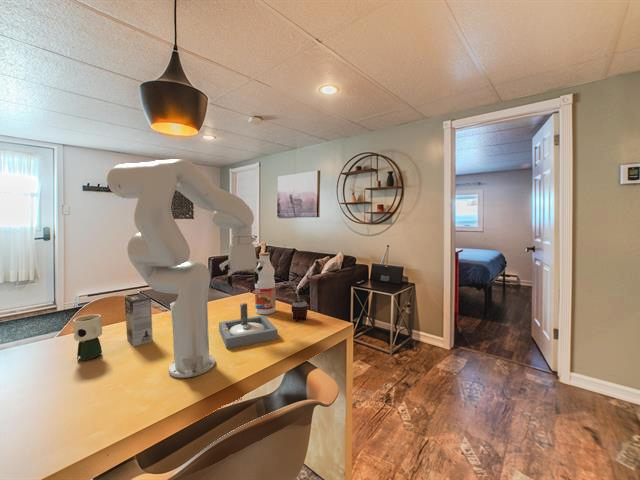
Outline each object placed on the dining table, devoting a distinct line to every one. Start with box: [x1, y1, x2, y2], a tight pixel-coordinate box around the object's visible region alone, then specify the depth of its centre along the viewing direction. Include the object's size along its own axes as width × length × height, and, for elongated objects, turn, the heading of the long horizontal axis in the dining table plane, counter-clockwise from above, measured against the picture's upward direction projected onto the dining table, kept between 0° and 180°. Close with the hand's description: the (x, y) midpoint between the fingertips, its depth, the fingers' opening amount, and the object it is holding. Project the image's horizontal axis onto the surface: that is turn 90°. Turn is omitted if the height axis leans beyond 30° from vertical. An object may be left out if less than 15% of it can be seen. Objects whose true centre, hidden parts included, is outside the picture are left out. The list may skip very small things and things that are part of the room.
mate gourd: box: [290, 282, 309, 323], centre depth 127 cm, size 8×8×15 cm
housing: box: [218, 314, 279, 350], centre depth 111 cm, size 18×18×4 cm
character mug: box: [72, 313, 103, 361], centre depth 93 cm, size 11×7×13 cm, turn 70°
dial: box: [230, 302, 264, 336], centre depth 111 cm, size 13×13×9 cm
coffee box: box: [124, 293, 154, 347], centre depth 106 cm, size 9×6×16 cm
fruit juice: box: [254, 251, 277, 315], centre depth 138 cm, size 9×9×28 cm
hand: (243, 284), depth 114 cm, fingers open, 9 cm apart
